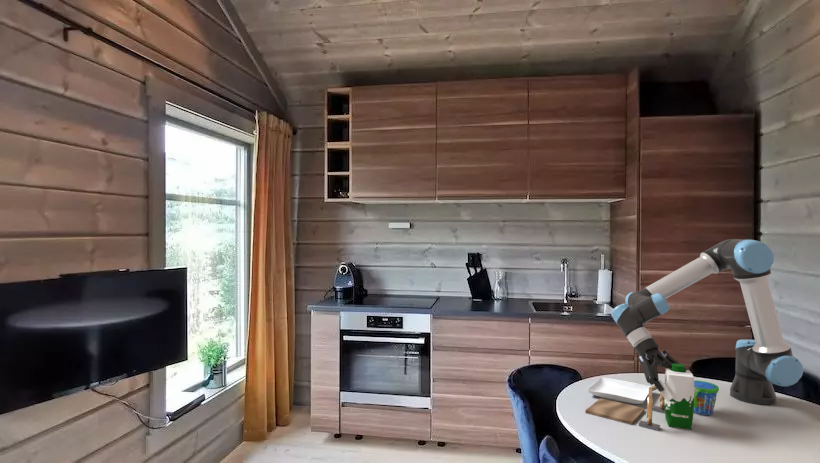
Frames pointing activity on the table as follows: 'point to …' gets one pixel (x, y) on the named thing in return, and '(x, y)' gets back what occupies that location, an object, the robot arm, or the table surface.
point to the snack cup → (704, 397)
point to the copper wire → (650, 409)
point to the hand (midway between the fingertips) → (682, 396)
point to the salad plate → (619, 390)
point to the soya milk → (679, 397)
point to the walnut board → (615, 411)
